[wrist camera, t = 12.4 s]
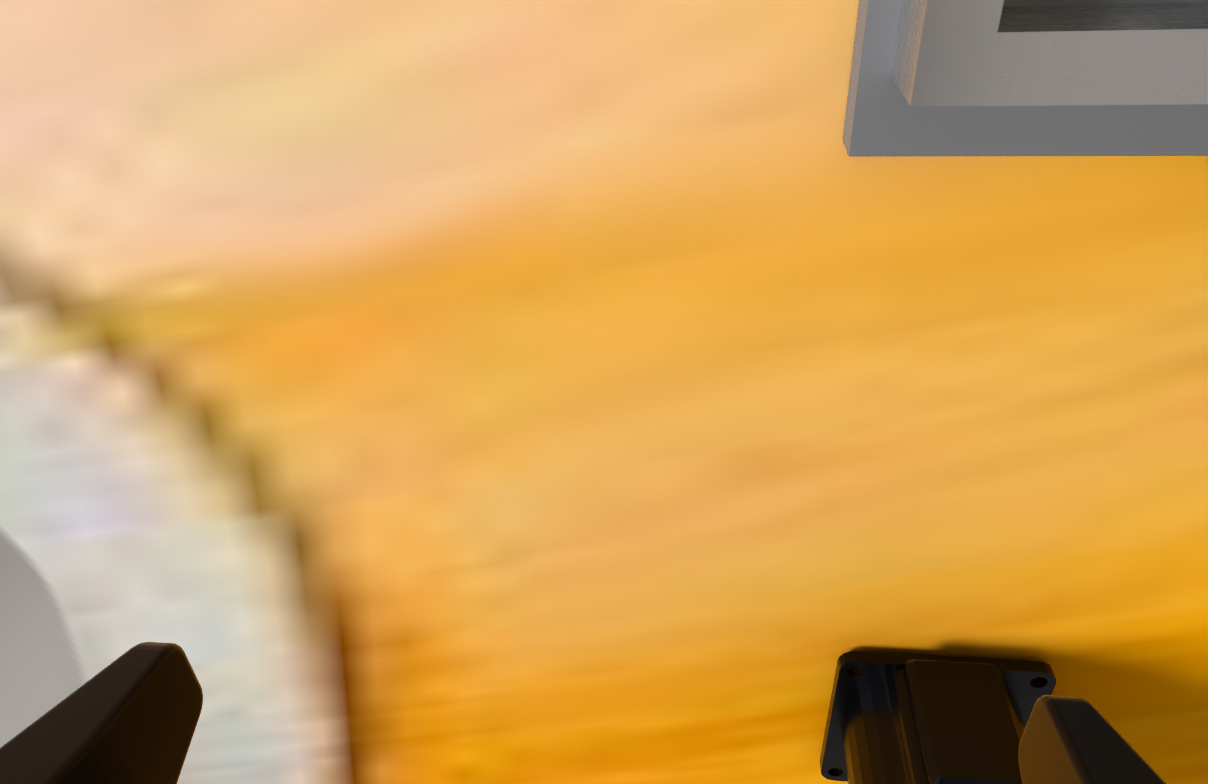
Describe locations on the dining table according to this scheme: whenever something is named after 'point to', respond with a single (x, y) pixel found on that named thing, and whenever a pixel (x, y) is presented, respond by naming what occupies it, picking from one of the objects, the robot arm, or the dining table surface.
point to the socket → (1029, 78)
